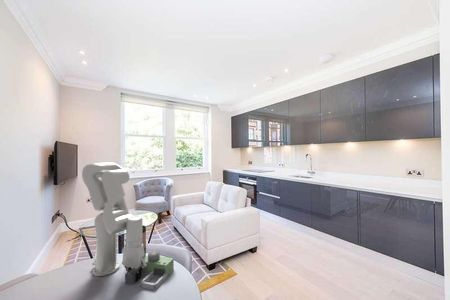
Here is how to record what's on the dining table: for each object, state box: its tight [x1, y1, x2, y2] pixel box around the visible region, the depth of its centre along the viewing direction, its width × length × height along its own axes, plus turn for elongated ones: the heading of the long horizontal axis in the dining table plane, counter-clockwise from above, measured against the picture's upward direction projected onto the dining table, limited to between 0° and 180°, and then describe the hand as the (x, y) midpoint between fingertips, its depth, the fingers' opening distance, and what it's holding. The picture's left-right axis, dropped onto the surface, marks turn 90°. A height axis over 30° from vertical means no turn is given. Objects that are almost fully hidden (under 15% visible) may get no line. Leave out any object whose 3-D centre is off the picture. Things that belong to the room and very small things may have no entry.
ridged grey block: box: [124, 268, 144, 286], centre depth 94 cm, size 4×7×5 cm, turn 163°
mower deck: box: [139, 250, 174, 291], centre depth 97 cm, size 16×16×9 cm
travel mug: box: [142, 224, 147, 257], centre depth 111 cm, size 8×8×20 cm
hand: (134, 278), depth 94 cm, fingers closed on ridged grey block, 4 cm apart
